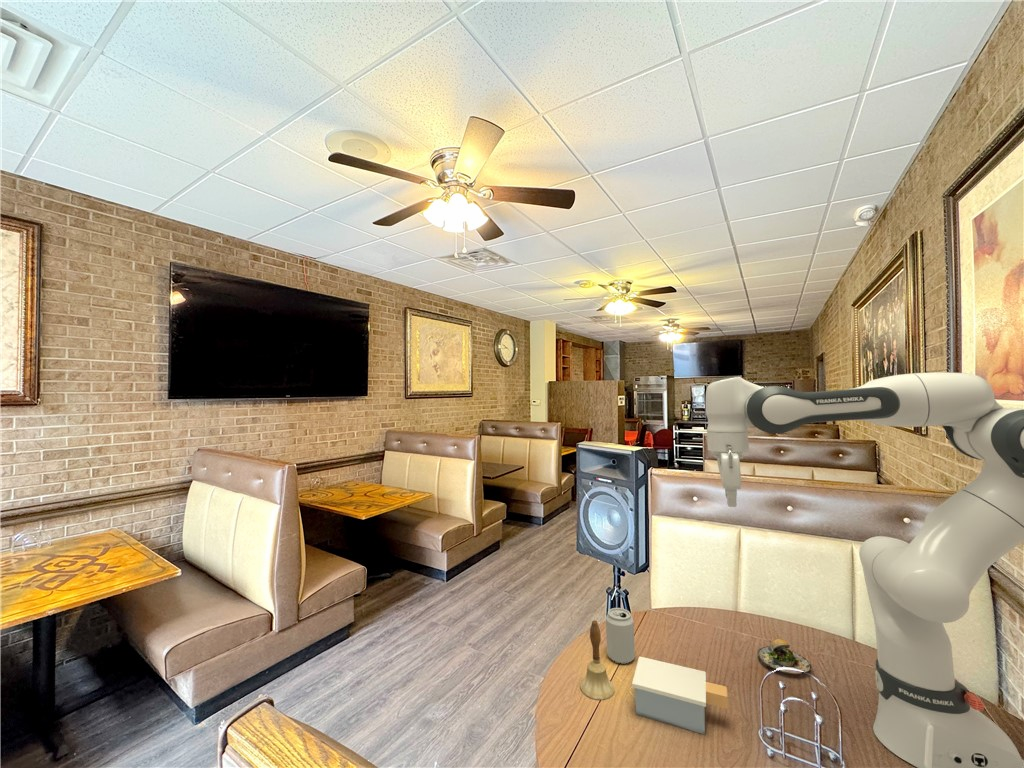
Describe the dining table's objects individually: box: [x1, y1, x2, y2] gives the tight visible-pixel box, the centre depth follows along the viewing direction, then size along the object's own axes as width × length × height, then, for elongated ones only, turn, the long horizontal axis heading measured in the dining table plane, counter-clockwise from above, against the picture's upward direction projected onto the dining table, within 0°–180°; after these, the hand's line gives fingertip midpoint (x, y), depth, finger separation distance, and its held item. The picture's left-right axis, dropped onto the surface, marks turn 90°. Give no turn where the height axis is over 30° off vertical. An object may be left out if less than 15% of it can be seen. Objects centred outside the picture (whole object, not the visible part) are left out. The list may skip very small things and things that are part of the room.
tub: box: [634, 688, 706, 735], centre depth 92 cm, size 14×10×6 cm
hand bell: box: [579, 620, 615, 701], centre depth 100 cm, size 8×8×16 cm
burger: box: [757, 634, 813, 675], centre depth 107 cm, size 12×12×8 cm
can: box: [605, 607, 636, 665], centre depth 112 cm, size 8×8×12 cm
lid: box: [631, 656, 729, 710], centre depth 91 cm, size 19×11×2 cm, turn 65°
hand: (730, 501), depth 96 cm, fingers open, 8 cm apart
